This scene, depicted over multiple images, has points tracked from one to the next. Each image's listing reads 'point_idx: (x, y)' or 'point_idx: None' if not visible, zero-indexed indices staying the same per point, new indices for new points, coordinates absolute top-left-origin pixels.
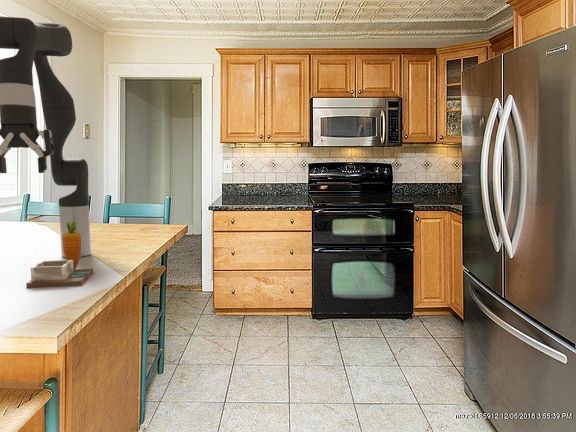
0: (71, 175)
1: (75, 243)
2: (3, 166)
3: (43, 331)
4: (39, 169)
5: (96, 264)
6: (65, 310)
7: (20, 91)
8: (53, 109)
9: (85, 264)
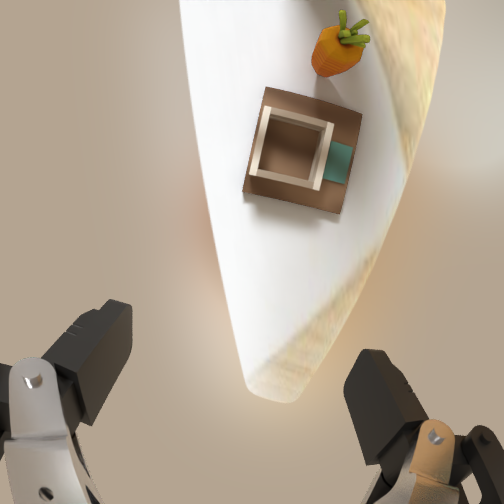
0: None
1: (347, 67)
2: (114, 366)
3: (282, 395)
4: (352, 403)
5: None
6: (307, 343)
7: None
8: None
9: None
